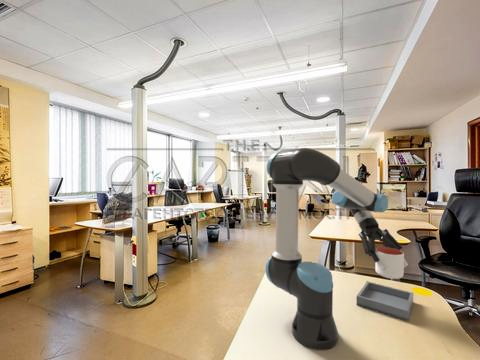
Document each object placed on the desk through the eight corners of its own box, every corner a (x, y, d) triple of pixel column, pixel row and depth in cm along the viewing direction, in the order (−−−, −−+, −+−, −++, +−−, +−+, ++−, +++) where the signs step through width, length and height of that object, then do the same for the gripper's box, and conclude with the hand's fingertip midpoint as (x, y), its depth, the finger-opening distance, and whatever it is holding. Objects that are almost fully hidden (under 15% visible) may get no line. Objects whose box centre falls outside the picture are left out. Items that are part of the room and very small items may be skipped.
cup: (403, 272, 103) (403, 249, 103) (404, 282, 95) (404, 256, 94) (376, 268, 108) (376, 245, 108) (374, 276, 100) (374, 252, 99)
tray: (356, 305, 103) (356, 295, 103) (367, 289, 116) (367, 281, 116) (408, 321, 91) (408, 311, 91) (413, 302, 105) (413, 292, 105)
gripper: (382, 224, 119) (411, 268, 104) (341, 227, 113) (366, 274, 99) (391, 215, 113) (423, 260, 99) (349, 218, 108) (376, 266, 93)
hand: (394, 267), depth 99 cm, fingers closed on cup, 10 cm apart
